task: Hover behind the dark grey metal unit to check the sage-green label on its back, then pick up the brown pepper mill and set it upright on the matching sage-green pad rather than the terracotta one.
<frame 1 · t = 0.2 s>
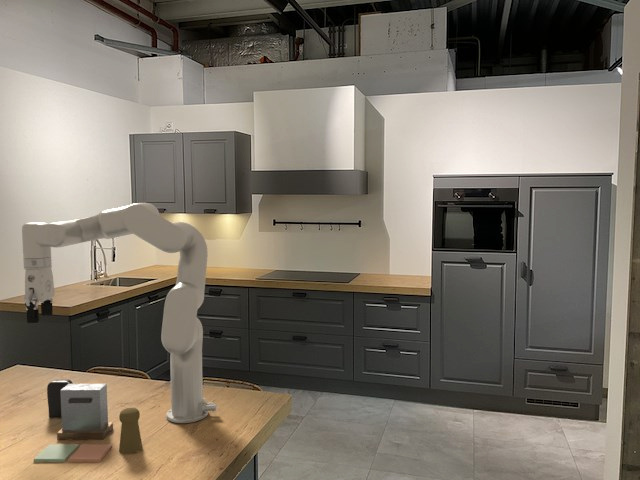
hand: (40, 318, 165), 31 cm above the table, tool pointing down, fingers open, 9 cm apart
green pad: (56, 454, 143), on the table
brown pepper mill: (130, 449, 146), on the table
grey unit: (85, 434, 155), on the table
terracotta pad: (90, 454, 143), on the table
battery charger: (61, 416, 168), on the table
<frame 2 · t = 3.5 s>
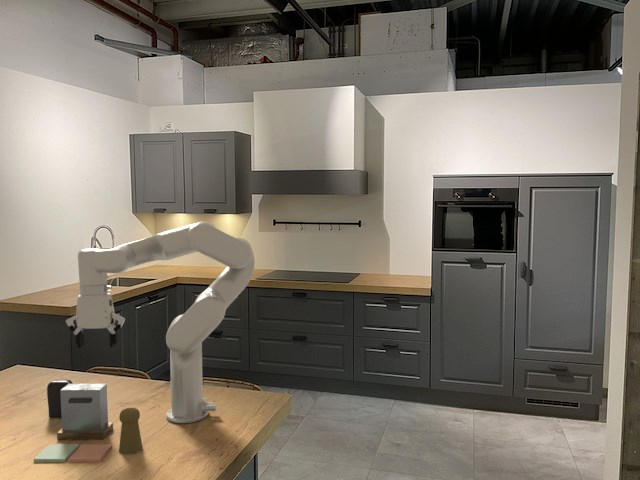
hand: (97, 346, 162), 23 cm above the table, tool pointing down, fingers open, 9 cm apart
nothing on the table moved.
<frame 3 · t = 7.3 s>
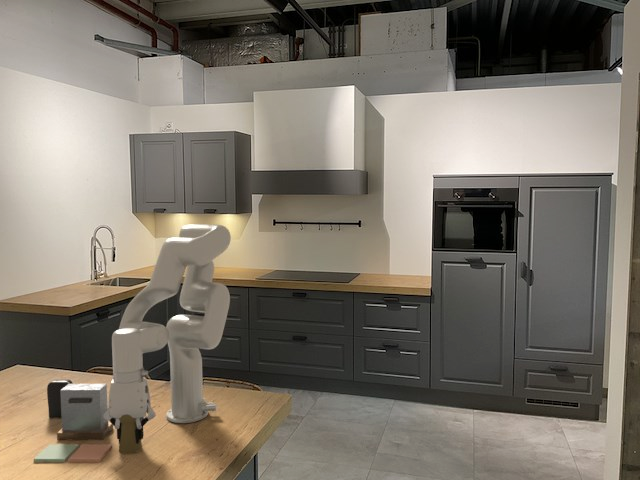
hand: (130, 440, 146), 2 cm above the table, tool pointing down, fingers closed on brown pepper mill, 3 cm apart
brown pepper mill: (130, 449, 146), on the table, touching gripper
everything else where it was.
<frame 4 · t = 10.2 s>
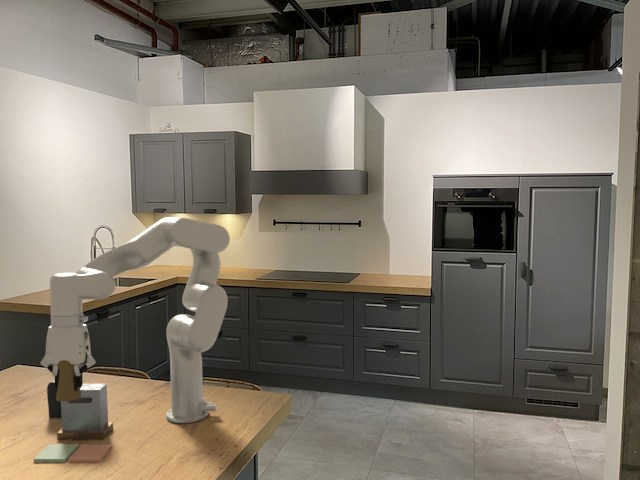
hand: (68, 388, 142), 18 cm above the table, tool pointing down, fingers closed on brown pepper mill, 3 cm apart
brown pepper mill: (68, 398, 142), point 15 cm above the table, touching gripper
everything else where it was.
when the fingers open (4 cm above the table, at t = 13.3 s): brown pepper mill drops 1 cm, resting on green pad.
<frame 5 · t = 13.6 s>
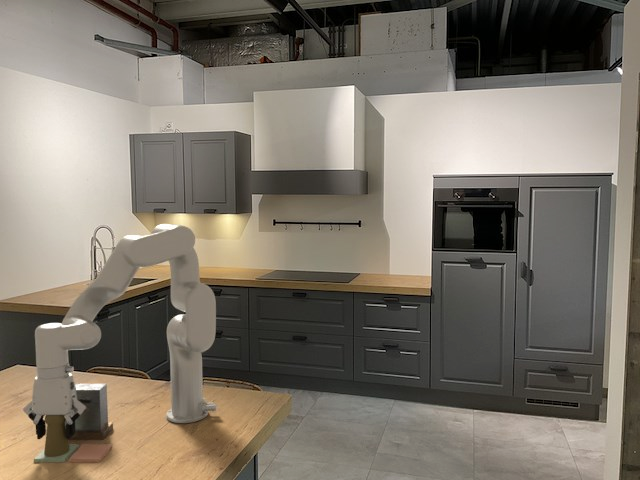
hand: (56, 436, 143), 5 cm above the table, tool pointing down, fingers open, 7 cm apart
brown pepper mill: (56, 452, 143), point 1 cm above the table, touching green pad
everything else where it was.
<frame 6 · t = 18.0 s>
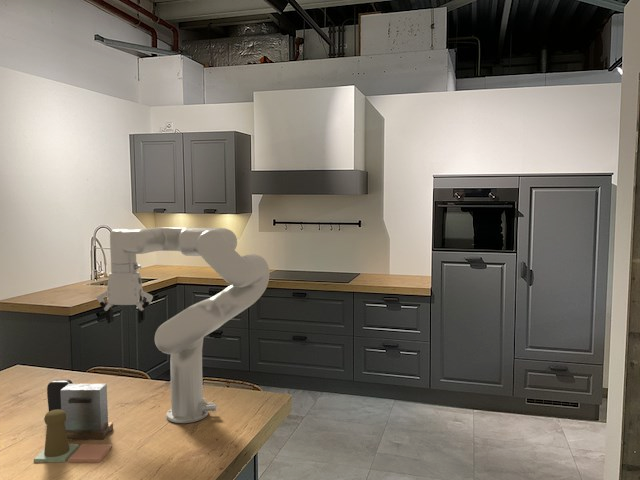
hand: (125, 322, 170), 28 cm above the table, tool pointing down, fingers open, 9 cm apart
nothing on the table moved.
at the end: brown pepper mill 0.1 cm off-centre on the green pad, point 0.6 cm above the green pad's base; brown pepper mill tilted 0°; the gripper is holding nothing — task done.
